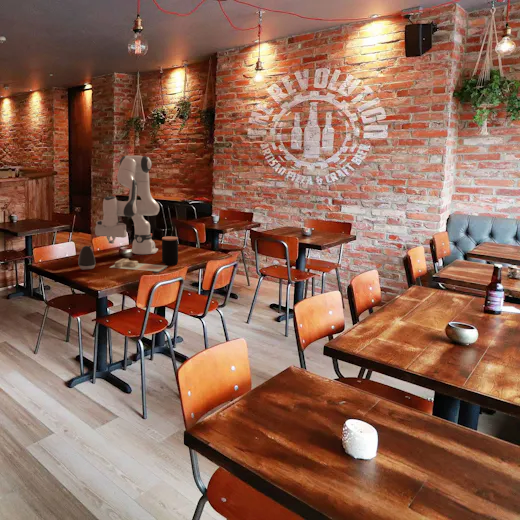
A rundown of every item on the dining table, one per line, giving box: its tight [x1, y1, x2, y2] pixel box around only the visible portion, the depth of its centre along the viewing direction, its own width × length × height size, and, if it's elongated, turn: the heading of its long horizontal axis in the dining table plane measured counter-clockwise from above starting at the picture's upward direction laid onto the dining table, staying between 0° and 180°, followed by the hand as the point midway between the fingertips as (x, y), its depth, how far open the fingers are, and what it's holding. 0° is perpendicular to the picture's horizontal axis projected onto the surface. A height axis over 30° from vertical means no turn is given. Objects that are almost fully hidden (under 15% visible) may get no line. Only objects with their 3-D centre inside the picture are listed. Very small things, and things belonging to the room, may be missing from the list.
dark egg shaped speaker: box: [77, 245, 97, 271], centre depth 289 cm, size 10×10×15 cm
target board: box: [109, 262, 169, 274], centre depth 299 cm, size 16×33×1 cm, turn 81°
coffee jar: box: [161, 235, 179, 266], centre depth 312 cm, size 11×11×18 cm
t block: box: [114, 258, 139, 267], centre depth 300 cm, size 12×12×3 cm
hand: (111, 243), depth 299 cm, fingers closed
